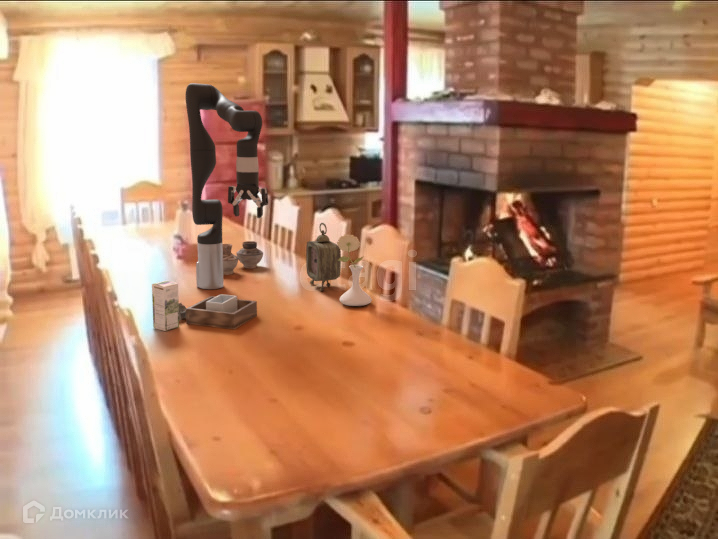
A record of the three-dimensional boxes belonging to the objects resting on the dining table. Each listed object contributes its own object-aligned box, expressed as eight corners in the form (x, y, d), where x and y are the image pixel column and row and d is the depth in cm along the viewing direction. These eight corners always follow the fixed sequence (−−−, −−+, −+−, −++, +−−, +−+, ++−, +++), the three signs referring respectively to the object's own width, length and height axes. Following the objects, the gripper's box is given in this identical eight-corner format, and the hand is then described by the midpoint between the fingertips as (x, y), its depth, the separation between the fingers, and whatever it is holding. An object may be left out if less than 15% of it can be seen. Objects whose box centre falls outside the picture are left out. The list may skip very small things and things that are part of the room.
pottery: (208, 273, 301) (207, 245, 298) (248, 263, 321) (248, 236, 319) (229, 277, 295) (228, 248, 292) (268, 266, 316) (268, 239, 313)
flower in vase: (375, 302, 264) (377, 233, 258) (365, 310, 253) (367, 238, 248) (341, 298, 268) (342, 230, 262) (330, 306, 257) (330, 235, 252)
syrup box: (167, 323, 235) (165, 279, 231) (180, 327, 231) (178, 282, 228) (153, 328, 230) (150, 283, 227) (165, 331, 227) (163, 286, 223)
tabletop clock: (306, 283, 287) (306, 220, 282) (327, 282, 291) (328, 219, 285) (318, 293, 274) (319, 226, 269) (341, 290, 278) (342, 225, 272)
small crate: (206, 319, 236) (205, 301, 235) (221, 311, 245) (220, 294, 244) (223, 321, 234) (222, 303, 233) (237, 313, 244) (237, 295, 242)
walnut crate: (186, 323, 235) (186, 308, 234) (211, 310, 250) (210, 296, 249) (234, 329, 230) (234, 314, 229) (256, 315, 245) (256, 301, 244)
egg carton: (182, 313, 247) (182, 301, 246) (194, 318, 241) (194, 306, 241) (153, 319, 240) (153, 307, 239) (165, 324, 234) (164, 312, 233)
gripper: (223, 170, 251) (224, 217, 255) (261, 172, 247) (262, 219, 250) (233, 168, 258) (234, 214, 262) (271, 170, 254) (271, 216, 257)
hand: (248, 216), depth 256 cm, fingers open, 8 cm apart
